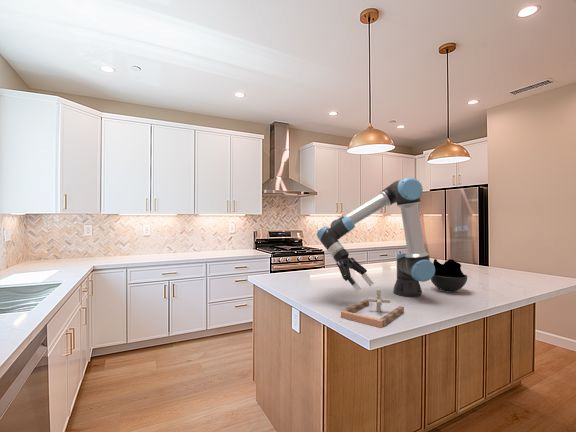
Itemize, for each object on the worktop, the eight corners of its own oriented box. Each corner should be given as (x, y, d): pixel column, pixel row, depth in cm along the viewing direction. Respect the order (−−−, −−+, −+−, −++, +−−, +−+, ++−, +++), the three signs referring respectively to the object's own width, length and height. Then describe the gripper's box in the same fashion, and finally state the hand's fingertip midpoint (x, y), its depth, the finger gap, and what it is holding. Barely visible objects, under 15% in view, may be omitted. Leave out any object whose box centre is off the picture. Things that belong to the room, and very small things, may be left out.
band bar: (343, 316, 129) (343, 310, 129) (382, 326, 118) (382, 320, 118) (340, 317, 128) (340, 311, 128) (380, 327, 116) (380, 321, 116)
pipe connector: (391, 315, 130) (391, 293, 130) (368, 314, 132) (368, 291, 132) (388, 308, 140) (388, 287, 140) (366, 307, 142) (366, 286, 142)
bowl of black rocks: (471, 291, 174) (471, 259, 174) (461, 297, 160) (461, 263, 160) (435, 285, 189) (436, 256, 189) (423, 291, 174) (423, 259, 175)
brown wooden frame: (365, 304, 147) (365, 299, 147) (403, 312, 135) (403, 307, 135) (342, 316, 130) (342, 310, 130) (384, 326, 117) (384, 320, 117)
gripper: (346, 255, 161) (371, 287, 151) (320, 260, 142) (347, 297, 132) (355, 246, 157) (382, 278, 147) (329, 250, 138) (358, 287, 128)
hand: (365, 287), depth 140 cm, fingers open, 13 cm apart
